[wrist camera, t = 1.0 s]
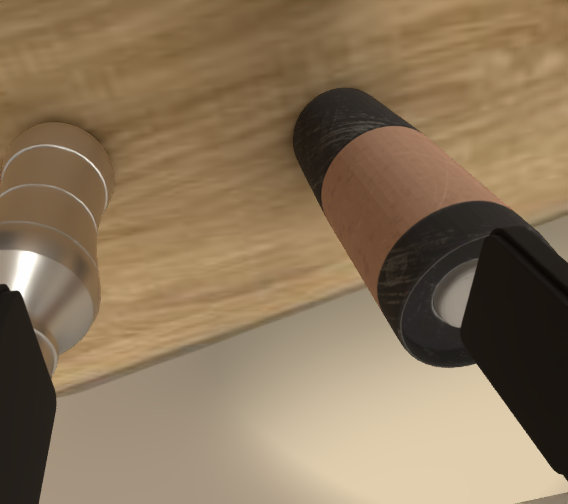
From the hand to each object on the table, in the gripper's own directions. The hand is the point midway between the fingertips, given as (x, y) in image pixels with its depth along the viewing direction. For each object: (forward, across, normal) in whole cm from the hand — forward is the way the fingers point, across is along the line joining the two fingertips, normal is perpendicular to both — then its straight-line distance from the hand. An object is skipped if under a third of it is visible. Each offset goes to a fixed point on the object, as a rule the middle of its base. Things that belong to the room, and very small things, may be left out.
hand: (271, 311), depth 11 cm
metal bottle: (+27, +9, +7) cm, 29 cm away
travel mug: (+27, -10, +7) cm, 30 cm away
